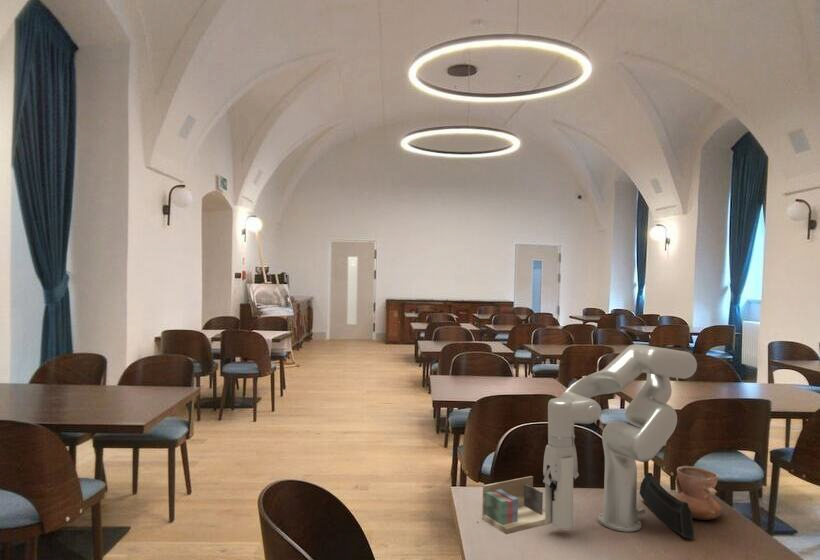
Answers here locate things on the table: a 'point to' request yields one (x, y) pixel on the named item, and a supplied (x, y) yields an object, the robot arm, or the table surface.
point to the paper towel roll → (561, 498)
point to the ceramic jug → (698, 491)
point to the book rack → (513, 505)
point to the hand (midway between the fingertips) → (561, 500)
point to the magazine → (667, 507)
